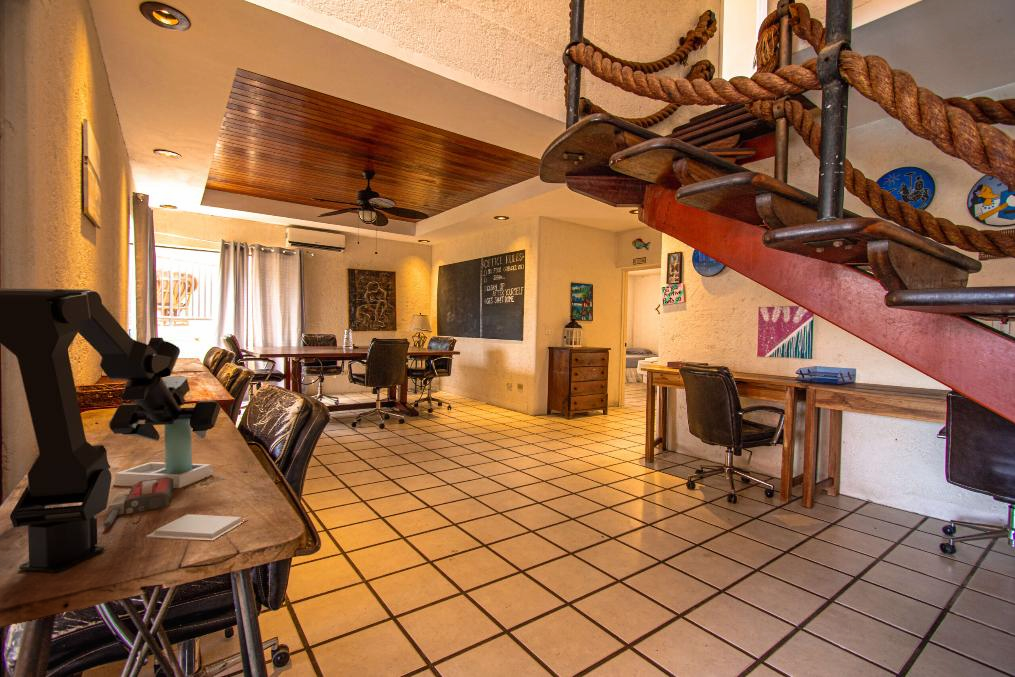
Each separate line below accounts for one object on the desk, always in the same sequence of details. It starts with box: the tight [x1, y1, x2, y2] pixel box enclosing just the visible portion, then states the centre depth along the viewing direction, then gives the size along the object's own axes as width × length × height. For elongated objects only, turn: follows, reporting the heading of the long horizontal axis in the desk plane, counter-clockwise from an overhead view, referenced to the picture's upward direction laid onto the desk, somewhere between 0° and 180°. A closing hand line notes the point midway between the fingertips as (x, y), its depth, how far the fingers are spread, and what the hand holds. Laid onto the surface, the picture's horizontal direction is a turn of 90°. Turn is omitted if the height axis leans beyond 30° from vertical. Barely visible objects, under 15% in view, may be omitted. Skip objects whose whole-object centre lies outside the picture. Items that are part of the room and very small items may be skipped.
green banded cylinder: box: [163, 419, 193, 474], centre depth 99 cm, size 5×5×13 cm
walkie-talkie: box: [102, 477, 174, 528], centre depth 84 cm, size 9×4×20 cm
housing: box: [112, 461, 214, 489], centre depth 99 cm, size 9×16×2 cm, turn 82°
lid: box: [145, 513, 244, 542], centre depth 75 cm, size 12×8×1 cm, turn 83°
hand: (181, 437), depth 100 cm, fingers open, 9 cm apart
